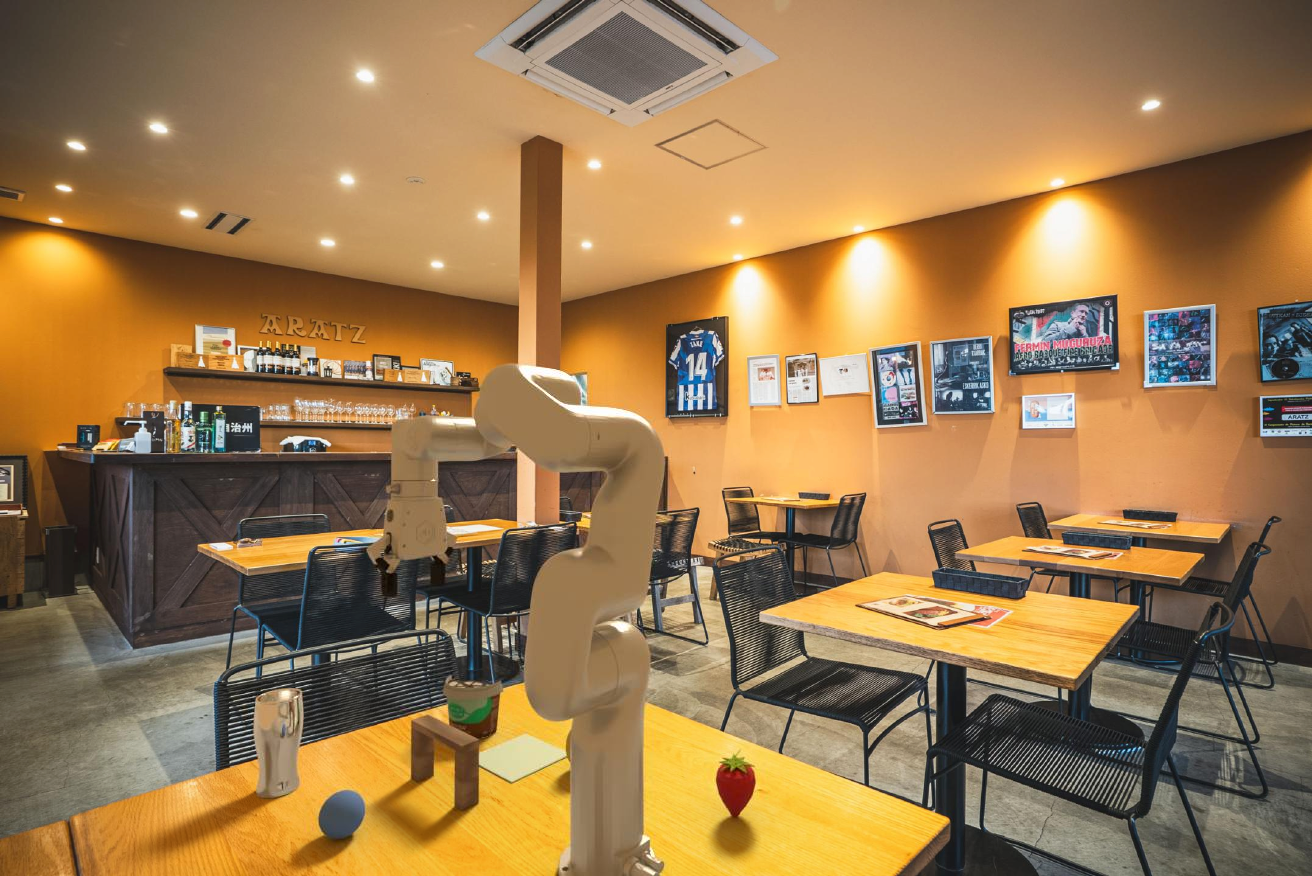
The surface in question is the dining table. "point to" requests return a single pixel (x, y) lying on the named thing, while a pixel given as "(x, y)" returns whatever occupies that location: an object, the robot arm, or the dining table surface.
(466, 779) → the bridge
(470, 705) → the food container
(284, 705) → the metal pint tumbler
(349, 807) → the ball
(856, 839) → the dining table surface
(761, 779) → the dining table surface
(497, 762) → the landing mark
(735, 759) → the strawberry
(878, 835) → the dining table surface
